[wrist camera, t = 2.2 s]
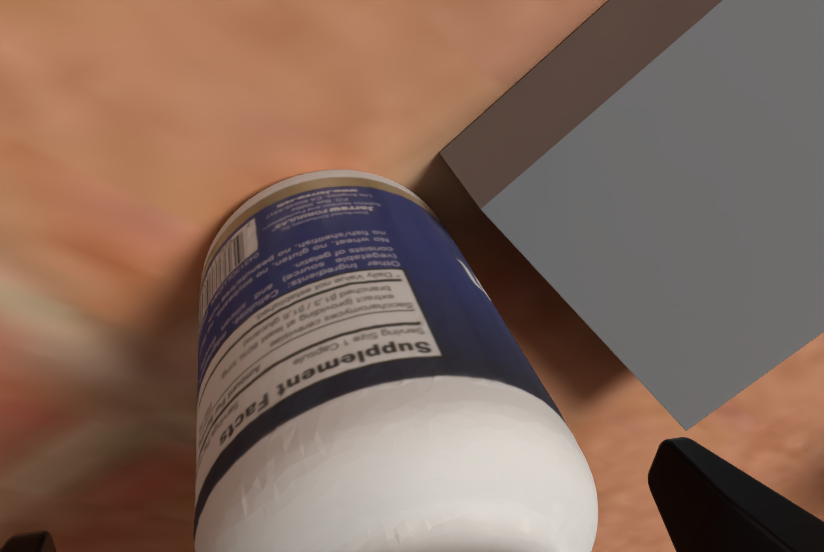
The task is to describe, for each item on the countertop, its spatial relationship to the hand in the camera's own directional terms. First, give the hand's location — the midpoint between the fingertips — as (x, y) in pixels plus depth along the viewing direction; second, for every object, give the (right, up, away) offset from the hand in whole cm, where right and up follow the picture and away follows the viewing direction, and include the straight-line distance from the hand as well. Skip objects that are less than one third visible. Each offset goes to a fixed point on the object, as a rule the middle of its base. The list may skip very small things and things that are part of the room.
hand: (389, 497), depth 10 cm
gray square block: (+7, +6, +5) cm, 11 cm away
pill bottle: (-2, +3, +5) cm, 6 cm away
